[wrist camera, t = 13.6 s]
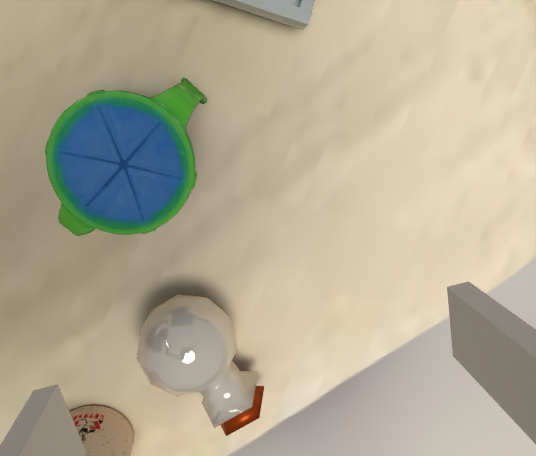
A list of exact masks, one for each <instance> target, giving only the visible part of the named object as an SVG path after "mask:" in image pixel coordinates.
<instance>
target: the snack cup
mask: <svg viewBox="0 0 536 456" xmlns="http://www.w3.org/2000/svg"><path fill="white" fill-rule="evenodd" d="M181 81H182V83H180V84H177V85H175V86H174V87H172V88H170V89H168V90H166V91H164V92H163V93H161V94H159V95H157V96H155V97H151V98H150V97H145V96H142V95H140V94H136V93H131V92H126V91H104V90H98V91H95V92H91V93H89V94H88V95H87V97H85V98H83V99H81V100H79V101H77V102H76V103H74V104H73V105H71V106H70V107H69V108H68V109H66V110H65V111H64V112H63V114H62V115H61V116H60V117H59V119H58V120H57V122H56V123H55V125H54V127H53V129H52V132H51V134H50V137H49V141H48V142H47V145H46V150H45V153H46V159H47V161H46V163H47V170H48V176H49V178H50V181H51V184H52V186H53V188H54V190H55V192H56V194H57V196H58V197H59V199H60V200H61V202H62V204H61V208H60V212H59V222H60V223H61V224H62V225H63V226H64V227H65V228H67V229H69V230H70V231H71V232H72V233H73V234H75V235H76V236H81V235H84V234H87V233H90V232H92V231H94V229H99V230H102V231H105V232H109V233H114V234H123V235H127V234H138V233H143V234H145V233H148V232H151V231H154V230H156V229H157V227H159V226H161V225H162V224H164V223H165V222H167V221H168V220H170V219H171V218H172V217H173V216H174V215H176V213H177V212H178V211H179V210H180V209H181V207H182V206H183V205H184V203H185V202H186V200H187V198H188V196H189V194H190V191H191V189H193V188H194V186H195V182H196V177H197V174H196V172H195V158H194V153H193V149H192V145H191V142H190V140H189V137H188V135H187V133H186V125H187V122H188V120H189V118H190V115H191V113H192V112H193V109H194V108H195V107H196V106H197V104H198V103H199V102H200V103H202V104H205V103H207V98H206V97H205V96H204V95H203V94H202V93H201V92H200V91H199V90H198V89H197V88H196V87H194V86H193V85H192V84H191V82H189V81H188V80H187V79H186V78H182V80H181Z"/></svg>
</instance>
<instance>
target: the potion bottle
mask: <svg viewBox="0 0 536 456" xmlns="http://www.w3.org/2000/svg"><path fill="white" fill-rule="evenodd" d="M236 351H237V344H236V336H235V329H234V327H233V324H232V321H231V319H230V318H229V317H228V315H227V314H226V313H225V312H224V311H223V310H222V309H221V308H220V307H219V306H218V305H216V304H215V303H214V302H212V301H211V300H210V299H208V298H205V297H200V296H191V295H176V296H174V297H173V298H171V299H169V300H167V301H166V302H164V303H162V304H160V305H159V306H157V307H155V308H154V309H152V310H151V312H150V314H149V315H148V317H147V319H146V321H145V323H144V325H143V327H142V329H141V331H140V336H139V344H138V351H137V360H138V362H139V364H140V366H141V368H142V369H143V371H144V373H145V375H146V376H147V378H148V380H149V382H150V384H152V385H154V386H156V387H158V388H160V389H162V390H164V391H166V392H168V393H170V394H172V395H174V396H176V397H179V396H183V395H187V394H192V393H196V392H201V393H202V394H203V396H204V397H203V402H202V404H203V406H204V408H205V410H206V412H207V414H208V416H209V418H210V420H211V422H212V424H213V426H214V428H215V427H217V426H218V425H221V427H222V429H223V431H224V433H225V435H226V436H227V435H229V434H231V433H233V432H234V431H236V430H238V429H240V428H242V427H244V426H245V425H247V424H249V423H251V422H253V421H254V420H256V419H258V418H259V416H260V409H261V403H262V397H263V390H264V386H256V381H257V375H258V372H249V371H240V370H239V369H238V367H237V366H236V365H235V364H234V362H233V361H232V359H233V357H234V355H235V353H236Z"/></svg>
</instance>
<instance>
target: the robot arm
mask: <svg viewBox="0 0 536 456" xmlns="http://www.w3.org/2000/svg"><path fill="white" fill-rule="evenodd" d="M447 291H448V303H449V315H450V326H451V337H452V348H453V356H454V357H455V358H456V360H458V361H459V363H460V364H461V365H462V366H463V367H464V368H465V369H466V370H467V371H468V372H469V373H470V374H471V376H472V377H473V378H474V379H475V380H476V381H477V382H478V383H479V384H480V385H481V386H482V387H483V388H484V389H485V390H486V392H487V393H488V394H489V395H490V396H491V397H492V398H493V399H494V400H495V401H496V402H497V403H498V404H499V405H500V406H501V408H502V409H503V410H504V411H505V412H506V413H507V414H508V415H509V416H510V417H511V418H512V419H513V420H514V421H515V423H516V424H517V425H518V426H519V427H520V428H521V429H522V430H523V431H524V432H525V433H526V434H527V435H528V436H529V437H530V438H531V440H532V441H533V442H534V443H535V444H536V329H534V328H533V327H532V326H530V325H529V324H527V323H526V322H525V321H523V320H522V319H520V318H519V317H517V316H516V315H515V314H513V313H512V312H510V311H509V310H508V309H506V308H505V307H503V306H502V305H501V304H499V303H498V302H496V301H495V300H494V299H492V298H491V297H489V296H488V295H487V294H485V293H484V292H482V291H481V290H480V289H478V288H477V287H475V286H474V285H473V284H471V283H470V282H465V283H461V284H457V285H453V286H449V287H447ZM85 453H86V450H85V447H84V445H83V443H82V440H81V438H80V436H79V433H78V431H77V429H76V426H75V424H74V422H73V419H72V417H71V415H70V412H69V410H68V407H67V405H66V403H65V400H64V398H63V396H62V393H61V391H60V389H59V386H58V385H54V386H50V387H46V388H42V389H38V390H34V391H33V393H32V394H31V396H30V398H29V399H28V401H27V402H26V404H25V406H24V407H23V409H22V411H21V412H20V414H19V416H18V417H17V419H16V420H15V422H14V424H13V425H12V427H11V429H10V430H9V432H8V434H7V435H6V437H5V438H4V440H3V442H2V443H1V445H0V456H85Z"/></svg>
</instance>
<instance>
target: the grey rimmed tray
mask: <svg viewBox="0 0 536 456" xmlns="http://www.w3.org/2000/svg"><path fill="white" fill-rule="evenodd" d="M214 1H217V2H220V3H223V4H226V5H229V6H232V7H235V8H238V9H241V10H244V11H247V12H250V13H253V14H256V15H259V16H262V17H265V18H268V19H271V20H274V21H277V22H280V23H283V24H286V25H289V26H292V27H296V28H299V29H302V30H303V29H304V28H305V27H306V26H307V25H308V23H309V20H310V16H311V13H312V9H313V6H314V2H315V0H214Z"/></svg>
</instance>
